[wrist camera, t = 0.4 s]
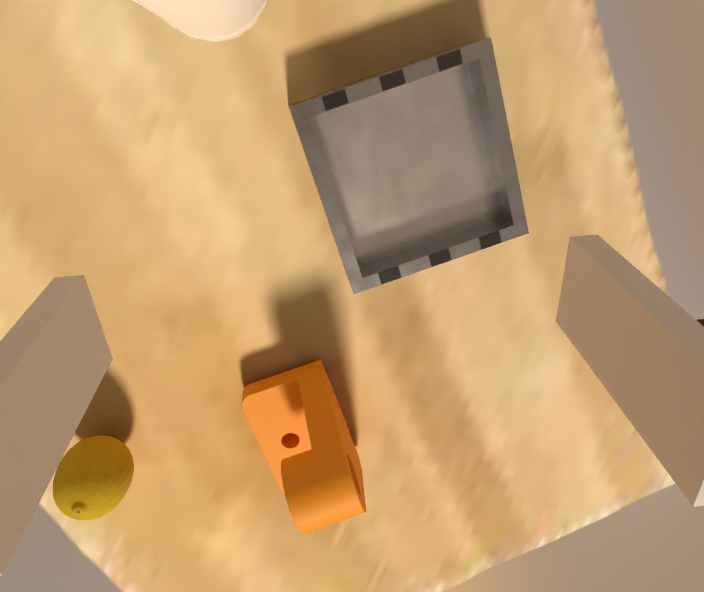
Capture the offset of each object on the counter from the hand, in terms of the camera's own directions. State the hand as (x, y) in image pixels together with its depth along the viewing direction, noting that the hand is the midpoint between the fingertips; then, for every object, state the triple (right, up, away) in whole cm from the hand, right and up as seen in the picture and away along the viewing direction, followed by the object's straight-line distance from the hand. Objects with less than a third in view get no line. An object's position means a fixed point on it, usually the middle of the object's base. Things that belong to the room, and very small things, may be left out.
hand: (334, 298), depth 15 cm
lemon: (-20, -13, +32) cm, 40 cm away
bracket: (-4, -11, +33) cm, 35 cm away
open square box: (+5, +10, +26) cm, 28 cm away
